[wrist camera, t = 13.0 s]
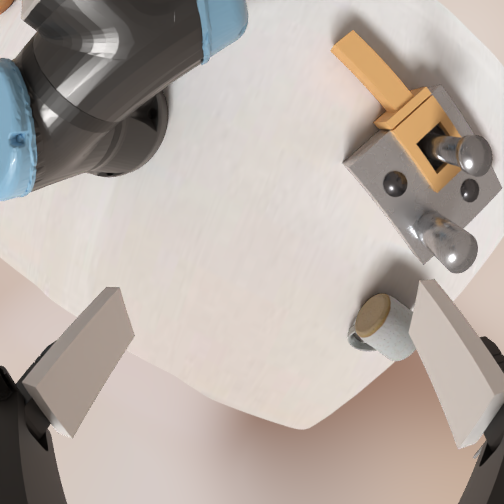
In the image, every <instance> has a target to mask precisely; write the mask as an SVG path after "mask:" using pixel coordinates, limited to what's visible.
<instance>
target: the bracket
mask: <svg viewBox="0 0 504 504" xmlns="http://www.w3.org/2000/svg"><path fill="white" fill-rule="evenodd" d="M331 52H332V53H333V54H334V55H335V56H336V57H337V58H338V59H339V60H340V61H341V62H342V63H343V64H344V65H345V66H346V67H347V68H348V69H349V70H350V71H351V72H352V73H353V74H354V75H355V76H356V77H357V78H358V79H359V80H360V81H361V82H362V83H363V85H364V86H365V87H366V88H367V89H368V90H369V91H370V92H371V93H372V94H373V96H374V97H375V98H376V99H377V100H378V101H379V102H380V104H381V105H382V106H383V107H384V108H385V110H386V112H385V113H384V114H382V115H381V116H380V117H379V118H378V119H377V120H376V121H375V122H373V123H374V124H375V125H376V127H377V128H378V129H391V130H390V131H391V132H392V134H393V135H394V136H395V138H396V139H397V140H398V141H399V143H400V144H401V145H402V147H403V148H404V149H405V151H406V152H407V153H408V155H409V156H410V157H411V159H412V160H413V161H414V163H415V164H416V166H417V167H418V169H419V170H420V171H421V173H422V174H423V176H424V177H425V179H426V180H427V182H428V183H429V185H430V186H431V188H432V189H433V191H434V192H436V193H438V192H439V191H440V190H441V189H442V188H443V187H444V186H445V185H446V184H447V183H448V182H450V181H451V180H452V179H453V178H454V177H455V176H456V175H457V174H458V173H459V172H460V171H461V168H460V167H458V166H455V165H451V164H448V163H445V162H444V163H443V164H442V165H441V166H440V167H439V168H438V169H437V170H436V171H435V170H434V169H433V167H432V166H431V164H430V163H429V161H428V160H427V158H426V157H425V156H424V154H423V153H422V151H421V150H420V148H419V147H418V146H417V144H416V143H417V142H419V141H420V140H421V139H422V138H423V137H424V136H425V135H426V134H427V133H428V132H429V131H430V130H431V129H433V128H434V127H435V126H436V125H437V124H439V126H440V127H441V128H442V130H443V131H444V133H445V134H446V136H453V137H461V136H460V134H459V133H458V131H457V129H456V128H455V126H454V125H453V123H452V122H451V120H450V119H449V117H448V116H447V114H446V113H445V111H444V110H443V109H442V107H441V106H440V104H439V103H438V102H437V100H436V99H435V97H434V96H433V95H431V94H432V93H431V92H430V91H429V89H428V88H427V87H422V88H418V89H414V90H410V91H409V90H408V89H407V87H406V86H405V85H404V84H403V83H402V81H401V80H400V79H399V78H398V77H397V75H396V74H395V73H394V72H393V71H392V70H391V69H390V68H389V66H388V65H387V64H386V63H385V62H384V61H383V60H382V59H381V58H380V57H379V56H378V54H377V53H376V52H375V51H374V50H373V49H372V48H371V47H370V46H369V45H368V44H367V43H366V42H365V41H364V40H363V39H362V38H361V37H360V36H359V35H358V34H357V33H356V32H355V31H353V30H352V31H351V32H350V33H348V34H347V35H346V36H345V37H343V38H342V39H341V40H340V41H338V42H337V43H336V44H335V45H334V46H333V48H332V49H331ZM461 138H462V137H461Z"/></svg>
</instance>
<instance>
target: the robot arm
mask: <svg viewBox="0 0 504 504" xmlns="http://www.w3.org/2000/svg"><path fill="white" fill-rule="evenodd" d="M21 19H22V20H23V21H24V22H26V23H27V24H28V25H30V26H31V27H32V28H34V29H35V30H36V31H37V32H36V34H35V35H34V36H33V37H32V38H31V40H30V41H29V42H28V43H27V44H26V46H25V47H24V48H23V49H22V50H21V52H20V53H19V54H18V55H17V57H16V58H15V59H13V60H10V59H6V58H0V201H5V200H9V199H12V198H16V197H24V196H26V195H27V194H28V193H30V192H32V191H35V190H38V189H40V188H43V187H45V186H48V185H51V184H53V183H56V182H59V181H62V180H65V179H67V178H70V177H73V176H76V175H79V174H82V173H89V174H93V175H97V176H102V177H116V176H121V175H124V174H127V173H130V172H133V171H135V170H137V169H139V168H140V167H142V166H143V165H144V164H146V163H147V162H148V161H149V160H150V159H151V158H152V157H153V155H154V154H155V153H156V151H157V150H158V148H159V146H160V145H161V142H162V140H163V138H164V135H165V131H166V127H167V120H168V110H167V103H166V99H165V96H164V93H163V91H162V90H163V89H164V88H165V87H167V86H168V85H170V84H171V83H172V82H174V81H175V80H177V79H178V78H180V77H181V76H183V75H184V74H186V73H187V72H189V71H190V70H192V69H193V68H195V67H196V66H198V65H200V64H202V65H203V64H205V63H207V62H208V61H209V59H210V57H211V56H213V55H214V54H216V53H217V52H219V51H220V50H222V49H223V48H225V47H226V46H228V45H230V44H231V43H233V42H235V41H236V40H238V39H239V38H240V37H241V36H242V35H243V33H244V32H245V30H246V27H247V24H248V10H247V5H246V1H245V0H22V11H21ZM408 333H409V335H410V337H411V339H412V341H413V343H414V345H415V347H416V349H417V352H418V354H419V356H420V358H421V360H422V362H423V364H424V367H425V369H426V371H427V373H428V375H429V378H430V380H431V382H432V384H433V387H434V389H435V391H436V393H437V396H438V399H439V401H440V403H441V406H442V408H443V411H444V413H445V416H446V418H447V421H448V423H449V426H450V429H451V431H452V434H453V437H454V440H455V442H456V445H457V448H458V449H461V448H464V447H467V446H469V445H473V444H475V443H476V442H477V441H478V440H479V438H480V437H481V436H482V434H483V433H484V435H485V437H486V441H485V443H484V444H483V445H482V446H481V448H480V449H479V450H478V451H477V453H476V454H475V455H474V457H473V458H476V457H477V456H478V455H479V454H480V455H479V457H478V460H477V462H476V465H475V468H474V470H473V472H472V475H471V477H470V480H469V482H468V484H467V486H466V488H465V491H464V493H463V495H462V497H461V499H460V502H459V503H458V504H504V356H503V355H501V351H500V350H499V349H498V347H497V346H496V344H495V343H493V342H492V341H491V340H489V339H488V338H487V337H479V336H478V335H477V333H476V332H475V331H474V329H473V328H472V327H471V325H470V324H469V322H468V321H467V320H466V318H465V317H464V316H463V314H462V313H461V312H460V311H459V309H458V308H457V307H456V305H455V304H454V303H453V301H452V300H451V299H450V298H449V296H448V295H447V294H446V293H445V291H444V290H443V289H442V288H441V287H440V285H439V284H438V283H437V282H436V280H435V279H431V280H419V286H418V291H417V296H416V301H415V306H414V311H413V315H412V320H411V324H410V328H409V332H408ZM134 336H135V335H134V332H133V329H132V326H131V323H130V320H129V317H128V314H127V310H126V307H125V304H124V301H123V297H122V294H121V290H120V287H106V288H105V289H104V290H103V291H102V292H101V293H100V294H99V295H98V296H97V297H96V298H95V299H94V300H93V302H92V303H91V304H90V305H89V306H88V307H87V308H86V309H85V310H84V311H83V312H82V313H81V314H80V315H79V316H78V318H77V319H76V320H75V321H74V322H73V323H72V324H71V325H70V326H69V327H68V329H67V330H66V331H65V332H64V333H63V334H62V335H61V336H60V337H59V339H58V340H56V341H55V342H53V343H52V344H51V345H49V346H48V347H47V348H46V349H45V350H44V351H43V352H42V353H41V356H39V357H38V358H37V359H36V361H35V363H33V364H32V365H31V366H30V367H29V369H28V370H27V371H26V372H25V373H24V375H23V376H22V377H21V378H20V379H19V381H18V382H17V383H16V384H15V383H14V381H13V380H12V378H11V376H10V375H9V373H8V371H7V370H6V368H5V367H3V366H0V504H67V502H66V499H65V495H64V492H63V488H62V484H61V481H60V476H59V472H58V468H57V463H56V459H55V453H54V448H53V443H52V437H51V434H50V431H49V430H48V429H47V428H48V427H49V425H50V424H52V426H53V427H54V429H55V430H56V431H57V432H58V433H59V434H62V435H64V436H67V437H70V438H73V437H74V435H75V433H76V432H77V430H78V428H79V426H80V424H81V423H82V421H83V419H84V417H85V416H86V414H87V412H88V411H89V409H90V407H91V405H92V404H93V402H94V400H95V399H96V397H97V396H98V394H99V392H100V391H101V389H102V387H103V386H104V384H105V382H106V381H107V379H108V378H109V376H110V374H111V372H112V371H113V369H114V368H115V366H116V365H117V363H118V361H119V360H120V358H121V357H122V355H123V353H124V352H125V350H126V349H127V347H128V346H129V344H130V342H131V341H132V339H133V338H134Z"/></svg>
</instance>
